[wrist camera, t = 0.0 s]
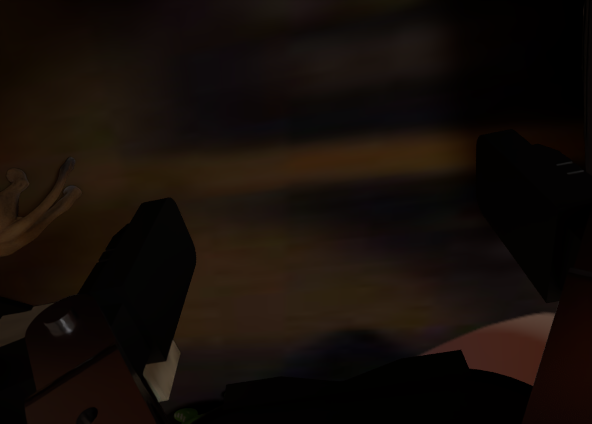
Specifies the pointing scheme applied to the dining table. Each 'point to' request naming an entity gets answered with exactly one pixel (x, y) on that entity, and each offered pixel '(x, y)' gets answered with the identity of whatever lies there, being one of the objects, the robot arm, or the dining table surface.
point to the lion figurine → (20, 231)
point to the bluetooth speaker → (587, 81)
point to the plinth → (155, 373)
